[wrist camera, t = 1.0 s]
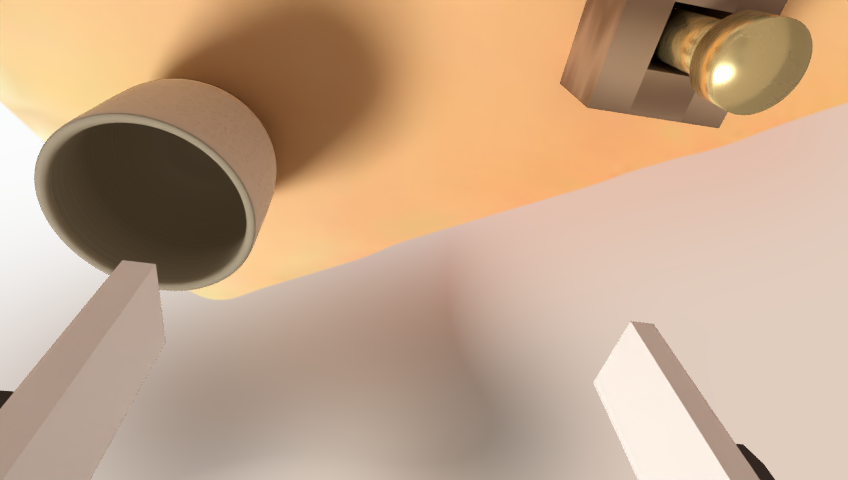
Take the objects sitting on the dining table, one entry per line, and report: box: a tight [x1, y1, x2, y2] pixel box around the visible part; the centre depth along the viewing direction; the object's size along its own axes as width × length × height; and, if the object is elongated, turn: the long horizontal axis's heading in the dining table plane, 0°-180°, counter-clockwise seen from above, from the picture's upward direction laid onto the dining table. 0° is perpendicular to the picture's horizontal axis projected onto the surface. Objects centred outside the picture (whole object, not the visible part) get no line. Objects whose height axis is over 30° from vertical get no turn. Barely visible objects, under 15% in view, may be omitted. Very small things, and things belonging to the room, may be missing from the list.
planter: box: [35, 79, 277, 291], centre depth 33 cm, size 12×12×11 cm
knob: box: [653, 8, 812, 115], centre depth 27 cm, size 5×5×9 cm
